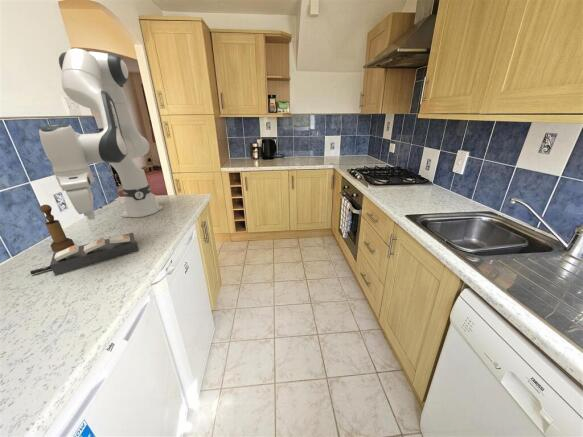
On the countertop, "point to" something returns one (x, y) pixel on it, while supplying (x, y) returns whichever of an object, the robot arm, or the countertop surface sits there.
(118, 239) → the block
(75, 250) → the rocker
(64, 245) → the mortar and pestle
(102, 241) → the rocker middle
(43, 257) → the countertop surface
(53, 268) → the power strip
